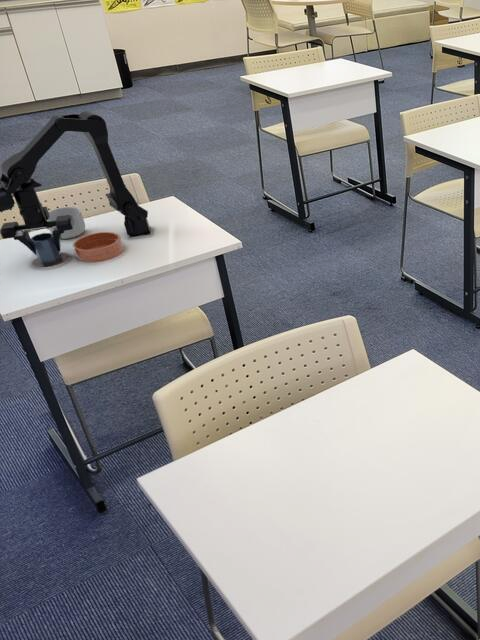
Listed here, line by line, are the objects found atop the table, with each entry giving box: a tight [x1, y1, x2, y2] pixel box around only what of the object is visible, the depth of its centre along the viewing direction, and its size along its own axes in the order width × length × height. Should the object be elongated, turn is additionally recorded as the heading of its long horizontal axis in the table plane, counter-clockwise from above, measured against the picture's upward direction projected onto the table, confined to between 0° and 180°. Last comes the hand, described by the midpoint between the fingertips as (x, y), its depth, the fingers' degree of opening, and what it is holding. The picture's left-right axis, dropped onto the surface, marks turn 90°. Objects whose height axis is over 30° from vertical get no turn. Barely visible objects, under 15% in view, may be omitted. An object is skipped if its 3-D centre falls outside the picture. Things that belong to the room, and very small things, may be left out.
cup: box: [30, 232, 62, 264], centre depth 210 cm, size 6×6×8 cm
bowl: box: [72, 231, 125, 263], centre depth 216 cm, size 13×13×4 cm
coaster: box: [32, 252, 70, 268], centre depth 213 cm, size 10×10×1 cm
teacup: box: [45, 206, 86, 240], centre depth 226 cm, size 14×11×8 cm
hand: (48, 252), depth 211 cm, fingers closed on cup, 6 cm apart
